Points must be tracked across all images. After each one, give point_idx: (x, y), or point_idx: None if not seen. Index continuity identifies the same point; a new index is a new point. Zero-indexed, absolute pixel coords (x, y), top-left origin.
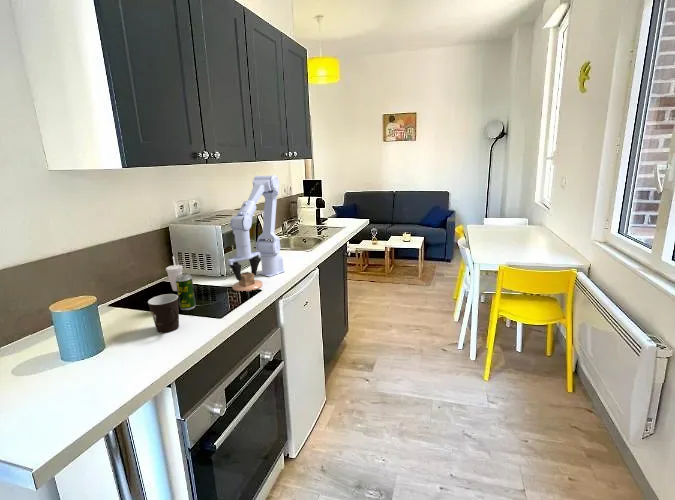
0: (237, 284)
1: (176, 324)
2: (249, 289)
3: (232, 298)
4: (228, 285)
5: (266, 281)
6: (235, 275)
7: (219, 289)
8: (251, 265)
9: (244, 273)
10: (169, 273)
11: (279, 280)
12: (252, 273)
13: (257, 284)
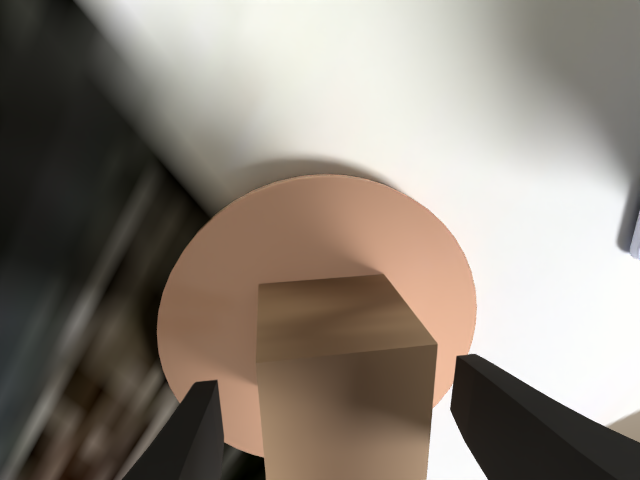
0: (253, 253)
1: None
2: (258, 451)
3: (53, 470)
4: (203, 105)
5: (520, 331)
6: (166, 431)
7: (43, 143)
8: (561, 465)
9: (356, 386)
10: None
11: (586, 390)
12: (421, 462)
13: None
